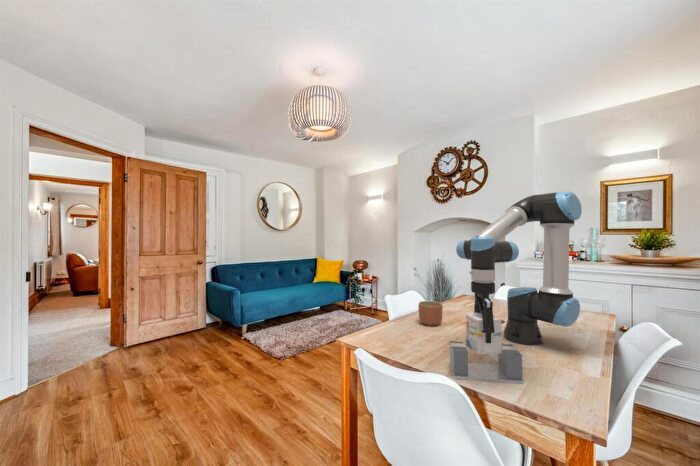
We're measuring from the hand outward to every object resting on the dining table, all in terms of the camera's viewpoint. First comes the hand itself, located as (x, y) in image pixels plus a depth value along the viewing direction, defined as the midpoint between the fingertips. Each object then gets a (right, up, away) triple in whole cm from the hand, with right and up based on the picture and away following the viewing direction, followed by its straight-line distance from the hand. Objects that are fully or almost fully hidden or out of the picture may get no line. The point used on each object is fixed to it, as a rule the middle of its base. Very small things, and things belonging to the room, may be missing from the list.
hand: (483, 345), depth 101 cm
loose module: (+11, -9, +9) cm, 17 cm away
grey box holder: (0, -9, 0) cm, 9 cm away
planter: (-3, -10, +55) cm, 56 cm away
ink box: (0, -1, 0) cm, 1 cm away
